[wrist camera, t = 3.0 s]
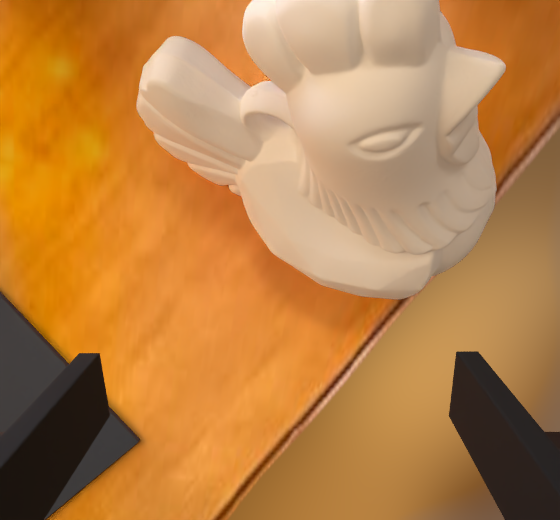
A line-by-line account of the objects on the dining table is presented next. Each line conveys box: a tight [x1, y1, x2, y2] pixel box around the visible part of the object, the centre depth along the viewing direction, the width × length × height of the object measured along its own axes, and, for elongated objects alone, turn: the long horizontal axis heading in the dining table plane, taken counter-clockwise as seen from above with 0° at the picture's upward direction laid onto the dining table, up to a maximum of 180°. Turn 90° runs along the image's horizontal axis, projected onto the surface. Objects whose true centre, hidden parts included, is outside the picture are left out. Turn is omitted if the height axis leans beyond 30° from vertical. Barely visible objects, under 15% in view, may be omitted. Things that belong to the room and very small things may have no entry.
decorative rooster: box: [137, 0, 506, 299], centre depth 30 cm, size 25×16×25 cm
